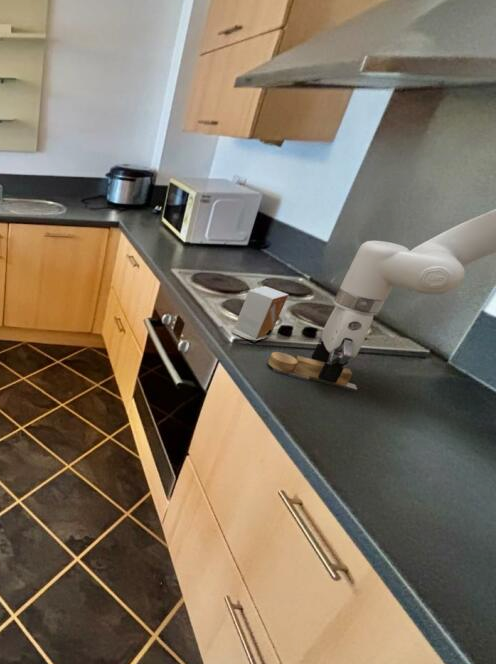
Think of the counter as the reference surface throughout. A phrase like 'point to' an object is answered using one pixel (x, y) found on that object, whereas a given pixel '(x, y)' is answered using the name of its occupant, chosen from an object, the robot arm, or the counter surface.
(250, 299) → the small box
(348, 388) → the serving fork
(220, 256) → the counter surface
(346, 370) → the wooden spoon
